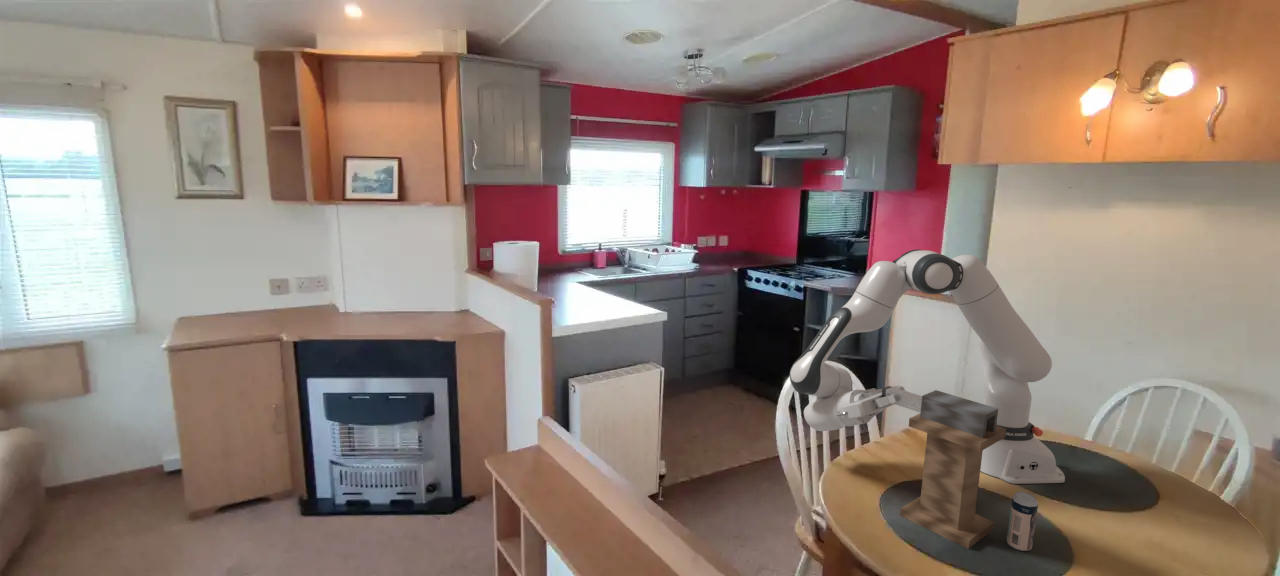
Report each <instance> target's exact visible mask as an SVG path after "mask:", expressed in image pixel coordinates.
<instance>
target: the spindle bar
mask: <svg viewBox="0 0 1280 576" xmlns="http://www.w3.org/2000/svg"><path fill="white" fill-rule="evenodd" d="M894 387H895V386H891V385H888V386H885V387H883V388H882V387H881V389H882V398H883V397H887V396H891V395H895V394H896V395H897V398H898V399H899V401H897V402H895V403H893V404H894V405H896V406H899V407H902V408H905V409H907V410H911V411H914V412H916V413H918V414H920V413H921V403H922V396H923V395H920V394H917V393H913V392H910V391H907V390H905V391H904V390H901V389H898V388H894Z"/></svg>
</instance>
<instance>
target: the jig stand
mask: <svg viewBox="0 0 1280 576" xmlns="http://www.w3.org/2000/svg"><path fill="white" fill-rule="evenodd" d="M921 396H922V403H921V413H918V414H916V415H914V416H912V417H909V418H908V427H909V428H912V429H915V430H918V431H921V432H923V433H926V443H925V450H924V451H925V452H924V461H923V471H922V481H921V482H922V483H921V489H920V492H921V493H920V496H918V497H917V498H916V499H914V500H912V501H910V502H908V503H907V504H905V505H904V506H902V507H900V511H899V516H900V517H902V518H903V519H904V518H905V519H906V520H907V521H910V522H913V523H915V524H916V525H918V526H920V527H922V528H924V529H926V530H928V531H930V532H932V533H935V534H937V535H939V536H941V537H943V538H944V539H946V540H949V541H951V542H953V543H955V542H956V543H955V544H957V543H958V544H957V545H959V544H960V545H959V546H961V545H962V546H961V547H963V546H964V547H963V548H965V547H966V548H965V549H968V550H969V549H970V548H971V547H973V546H974V545H975V544H977V543H978V542H979V541H981V540H982V539H984V536H985V537H986V536H987V535H989V534H990V533H991V532H993V531H994V527H995V526H994V525H995V522H994V521H992V520H990V519H988V518H986V517H983V516H981V515H979V514H977V513H976V508H977V501H978V492H979V483H980V477H981V476H980V474H981V471H980V469H981V460H982V452H983V450H984V449H986V448H988V447H989V446H991V445H993V444H995V443H996V442H998V441H1000V440H1002V439H1003V438H1005V435H1006V429H1005V428H1002V427H998V426H996V424H997V416H998V408H994V407H991V406H988V405H984V404H983V403H982V402H981V403H980V402H978V401H974V400H970V399H967V398H964V397H960V396H957V395H954V394H951V393H947V392H943V391H941V390H937V389H936V390H933V391H930V392H929V393H926V394H923V395H921ZM992 530H993V531H992ZM988 533H989V534H988ZM980 539H981V540H980ZM976 542H977V543H976ZM972 545H973V546H972Z"/></svg>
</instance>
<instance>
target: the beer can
mask: <svg viewBox="0 0 1280 576" xmlns="http://www.w3.org/2000/svg"><path fill="white" fill-rule="evenodd" d="M1038 508H1039V502H1038V500H1037V498H1036V496H1034V495H1033V494H1031V493H1028V492H1025V491H1017V492H1016V493H1014V495H1012V497H1011V505H1010V513H1009V519H1008V520H1009V521H1008V527H1007V536H1006V543H1007V544H1008V545H1009V546H1010V547H1012V548H1013V549H1015V550H1017V551H1022V552H1027V551H1030V550H1032V549H1033V545H1034V543H1033V542H1034V537H1035V536H1034V535H1035V530H1036V521H1037V516H1038V515H1037V513H1038Z"/></svg>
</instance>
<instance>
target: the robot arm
mask: <svg viewBox="0 0 1280 576" xmlns="http://www.w3.org/2000/svg"><path fill="white" fill-rule="evenodd" d="M909 290H914V291H918V292H921V293H924V294H927V295H939V294H944V293H946V292H949V294H950V295H951V296H952V298H953V300H954V301H955V303H956V305H957V306H958V308H959V309H960V311H961V313H962V315H963V316H964V317H965V319H966V321H967V323H968V324H969V326H970V328H971V329H972V330H973V331H974V332H975V334H977V336H978V337H979V339H978V340H979V341H978V345H979V348H980V351H981V356H982V357H981V359H982V360H981V361H982V371H983V382H984V386H983V387H984V389H983V390H984V394H983V402H982V404H984V405H988V406H991V407H994V408H998V416H997V424H996V426H998V427H1002V428H1005V429H1006V435H1005V438H1003V439H1002V440H1000V441H998V442H996V443H995V444H993V445H991V446H989V447H988V448H986V449H984V450H983V452H982V460H981V469H980V472H981V473H984V474H986V475H989V476H991V477H995V478H997V479H1001V480H1002V481H1004V482H1007V483H1010V484H1013V485H1014V484H1016V485H1017V484H1024V485H1025V484H1060V483H1061V484H1062V483H1065V481H1066V477H1065V474H1064V472H1063V470H1061V468H1059V466H1057V463H1056V457H1055V455H1054V454H1053V452H1052V451H1051V449H1050V448H1049V447H1047V446H1046V445H1045V444H1044V443H1043V442H1042V441H1041V440H1039V439H1038V438H1037V437H1039V438H1040V437H1042V436H1043V434H1044V432H1043V430H1042V429H1040V428H1039V427H1037V426H1035V425H1034V424H1033V423H1032V422H1030V414H1031V413H1030V412H1031V406H1032V393H1031V390H1030V387H1029V383H1036V382H1039V381H1041V380H1043V379H1045V378H1046V377H1047V376H1048V375H1049V373H1050V372H1051V369H1052V367H1053V361H1052V357H1051V355H1050V354H1049V353H1048V352H1047V349H1045V348H1044V346H1043V345H1042V344H1041V342H1040V341H1039V339H1038V338H1037V337H1036V336H1035V334H1034V333H1033V332H1032V330H1031V329H1030V327H1029V326H1028V325H1027V324H1026V322H1025V321H1024V320H1023V319H1022V317H1021V316H1020V315H1019V314H1018V313H1017V311H1016V310H1015V308H1014V307H1013V305H1012V304H1011V302H1010V301H1009V299H1008V298H1007V296H1006V295H1005V293H1004V291H1003V290H1002V288H1001V286H1000V284H999V283H998V282H997V279H996V278H995V277H994V276H993V274H992V273H991V271H990V270H989V269H988V267H986V265H985V264H984V263H983V262H982V261H981V260H980V259H979V258H978V256H975V255H973V254H960V255H958V256H954V257H952V258H950V257H949V256H946V255H944V254H940V253H939V252H936V251H932V250H929V249H928V250H927V249H926V250H925V249H911V250H908V251H906V252H904V253H903V254H902V255H900V256H899V257H897V258H896V259H894V260H893V261H889V260H879V261H877V262H875V263H873V265H871V267H870V268H869V269H868V271H867V272H866V273H865V274H864V276H863V277H862V279H861V281H860V283H858V285H857V287H856V289H855V291H854V293H853V295H852V296H851V297H850V299H849V300H848V301H847V302H846V303H845V304H844V305H843V306H841V307H839V308H837V309H836V310H834V312H833V313H832V314H831V315H830V316H829V317H828V318H827V320H826V321H825V323H823V325H822V327H820V330H819V331H818V332H817V334H816V335H815V336H814V338H813V339H812V340H811V341H810V344H809V345H808V347H807V348H806V349H805V350H804V352H803V353H802V354H801V355H800V356H799V357H798V358H797V359H796V360H795V361H794V362H793V364H792V366H791V367H790V370H789V380H790V383H791V386H792V388H793V389H794V391H796V392H797V393H798V394H802V395H806V396H807V395H808V396H812V397H811V400H810V402H809V403H808V404H807V405H806V406H805V408H803V409H804V410H803V416H804V419H805V421H806V423H807V424H808V426H810V428H812V429H813V430H815V431H817V432H818V431H819V432H830V431H836V430H840V429H843V428H844V427H854V426H860V425H863V424H867V423H870V421H871V420H872V419H873V418H874V417H876V416H877V415H878V414H881V412H884V410H885V409H887V408H889V407H891V406H895V404H893V403H895V402H897V401H899V399H898V398H897V395H896V394H895V395H891V396H887V397H883V398H882V388H878V389H876V388H868V389H853V379H852V376H851V374H850V373H849V371H848V370H846V369H845V368H842V367H839V366H836V365H834V364H829V363H827V362H826V361H827V359H829V357H830V356H831V354H832V352H833V351H834V349H835V348H836V347H837V345H838V344H839V343H840V341H842V339H844V338H845V337H847V336H850V335H853V334H857V333H869V332H873V331H877V330H880V329H881V328H883V327H884V326H885V324H886V323H887V322H888V321H889V319H890V318H891V316H892V314H893V312H894V310H895V308H896V307H897V305H898V302H899V301H900V299H901V297H902V296H903V295H904V294H905V293H907V292H908V291H909ZM893 387H894V388H898V389H901V390H904V391H906V389H905V386H904V387H903V386H902V385H901V386H900V385H897V386H893Z"/></svg>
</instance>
